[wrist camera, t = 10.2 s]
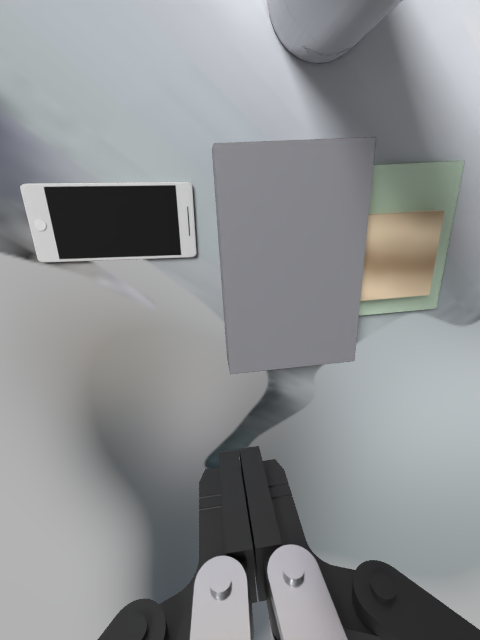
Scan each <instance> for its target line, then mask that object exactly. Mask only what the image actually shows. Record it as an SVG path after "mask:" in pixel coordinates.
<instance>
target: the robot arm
mask: <svg viewBox="0 0 480 640" xmlns="http://www.w3.org/2000/svg"><path fill="white" fill-rule="evenodd" d="M401 1H402V0H267V3H268V9H269V15H270V19H271V22H272V24H273V27H274V30H275V32H276V34H277V36H278V37H279V39H280V41H281V42H282V43H283V45H284V46H285V47H286V48H287V49H288V50H289V51H290V52H291V53H292V54H294V55H295V56H297V57H298V58H300V59H302V60H305V61H307V62H313V63H324V62H330V61H332V60H335V59H337V58H339V57H341V56H342V55H344V54H345V53H346V52H348V51H349V50H350V49H351V48H352V47H353V46H354V45H356V44H357V43H358V42H359V41H360V40H361V39H362V38H363V37H364V36H365V35H366V34H367V33H368V32H369V31H370V30H372V29H373V28H374V27H375V26H376V25H377V24H378V23H379V22H380V21H381V20H382V19H383V18H384V17H385V16H386V15H387V14H388V13H389V12H390V11H392V10H393V9H394V8H395V7H396V6H397V5H398V4H399V3H400V2H401ZM239 453H240V460H239V454H238V449H235V450H227V451H220V452H218V454H219V467H218V468H211V469H205V471H204V473H203V475H202V478H201V480H200V482H199V510H200V511H199V564H198V568H197V571H196V573H195V575H194V577H193V579H192V580H191V582H190V583H189V584H188V585H187V587H185V588H184V589H183V590H182V591H181V592H179V593H178V594H176V595H175V596H173V597H171V598H169V599H168V600H166V601H164V602H162V603H161V604H158V603H157V602H155V601H153V600H150V599H139V600H136V601H133V602H131V603H129V604H128V605H127V606H125V607H124V608H123V609H122V610H121V611H120V612H119V613H118V614H117V615H116V617H115V618H114V619H113V621H112V622H111V623H110V624H109V626H108V627H107V628H106V630H105V631H104V632H103V634H102V635H101V636H100V638H99V639H98V640H253V638H254V625H253V614H252V603H255V602H257V598H256V585H255V577H256V584H257V591H258V597H259V601H265V600H267V606H268V612H269V619H270V631H271V638H272V640H480V630H479V629H477V628H476V627H475V626H473V625H472V624H471V623H469V622H468V621H467V620H465V619H464V618H462V617H461V616H460V615H458V614H457V613H455V612H454V611H453V610H451V609H450V608H449V607H447V606H446V605H444V604H443V603H442V602H440V601H439V600H437V599H436V598H435V597H433V596H432V595H431V594H429V593H428V592H427V591H425V590H424V589H422V588H421V587H419V586H418V585H417V584H415V583H414V582H413V581H411V580H410V579H408V578H407V577H406V576H404V575H403V574H402V573H400V572H399V571H398V570H396V569H395V568H393V567H392V566H390V565H389V564H386V563H384V562H381V561H375V560H370V561H366V562H363V563H362V564H360V565H359V566H358V567H357V569H356V570H352V569H347V568H342V567H337V566H333V565H330V564H328V563H326V562H324V561H322V560H321V559H319V558H318V557H317V556H316V555H315V554H314V553H313V552H312V551H311V549H310V548H309V546H308V544H307V542H306V539H305V536H304V533H303V530H302V526H301V523H300V520H299V516H298V513H297V510H296V507H295V503H294V500H293V497H292V494H291V490H290V487H289V485H288V481H287V478H286V474H285V471H284V469H283V468H282V467H281V466H280V465H279V463H278V462H277V461H276V460H275V459H274V460H267V461H262V457H261V453H260V449H259V446H256V447H248V448H241V449H239ZM240 465H241V467H240ZM254 570H255V571H254Z"/></svg>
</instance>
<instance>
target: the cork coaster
mask: <svg viewBox="0 0 480 640" xmlns="http://www.w3.org/2000/svg"><path fill="white" fill-rule="evenodd" d="M443 217H444V211H440V210H428V211H411V212H394V213H377V214H369V216H368V226H367V236H366V247H365V257H364V267H363V278H362V288H361V298H360V301H366V300H377V299H389V298H401V297H412V296H424V295H429V293H430V288H431V282H432V277H433V271H434V266H435V260H436V255H437V249H438V244H439V238H440V233H441V227H442V222H443Z"/></svg>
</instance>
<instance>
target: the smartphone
mask: <svg viewBox="0 0 480 640" xmlns="http://www.w3.org/2000/svg"><path fill="white" fill-rule="evenodd" d="M20 189H21V193H22V197H23V201H24V205H25V209H26V213H27V217H28V221H29V225H30V229H31V233H32V237H33V242H34V246H35V250H36V254H37V258H38V260H39V261H41V262H68V261H97V260H125V259H154V258H182V257H194V256H195V255H196V239H195V223H194V207H193V192H192V184H190V183H188V182H153V183H58V184H23V185H21V186H20Z"/></svg>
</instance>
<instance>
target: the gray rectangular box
mask: <svg viewBox="0 0 480 640" xmlns="http://www.w3.org/2000/svg"><path fill="white" fill-rule="evenodd" d="M375 143H376V137H364V138H338V139H313V140H287V141H261V142H236V143H214V144H213V148H212V156H213V170H214V184H215V197H216V211H217V225H218V239H219V252H220V266H221V280H222V293H223V307H224V321H225V335H226V348H227V359H228V365H229V371H230V374H237V373H246V372H255V371H265V370H275V369H284V368H294V367H303V366H312V365H322V364H330V363H340V362H350V361H354V360H355V350H356V340H357V329H358V319H359V309H360V298H361V288H362V278H363V267H364V257H365V247H366V236H367V226H368V216H369V205H370V195H371V185H372V174H373V164H374V154H375Z"/></svg>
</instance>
